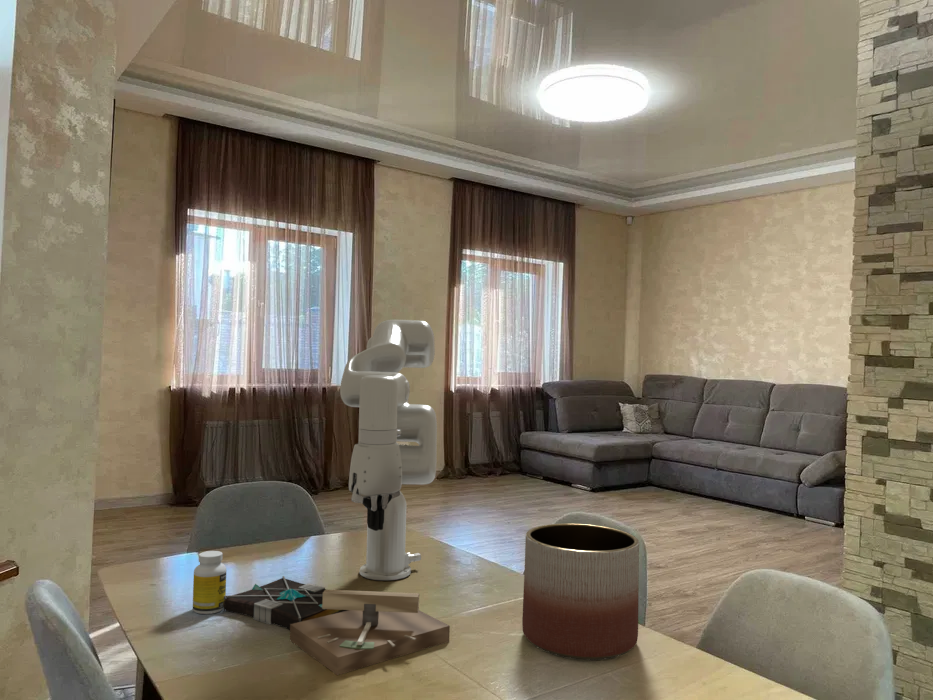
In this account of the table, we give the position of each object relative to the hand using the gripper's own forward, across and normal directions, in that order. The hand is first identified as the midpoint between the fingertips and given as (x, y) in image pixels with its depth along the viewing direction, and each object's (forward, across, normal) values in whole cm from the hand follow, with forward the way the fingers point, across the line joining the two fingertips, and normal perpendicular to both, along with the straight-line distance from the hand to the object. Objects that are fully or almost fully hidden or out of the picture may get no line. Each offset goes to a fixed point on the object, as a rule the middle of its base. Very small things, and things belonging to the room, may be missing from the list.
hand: (375, 528), depth 142 cm
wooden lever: (+16, +8, +10) cm, 20 cm away
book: (+20, +10, -17) cm, 28 cm away
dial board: (+19, +5, +7) cm, 21 cm away
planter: (+19, -28, +30) cm, 45 cm away
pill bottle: (+20, +23, -26) cm, 41 cm away
